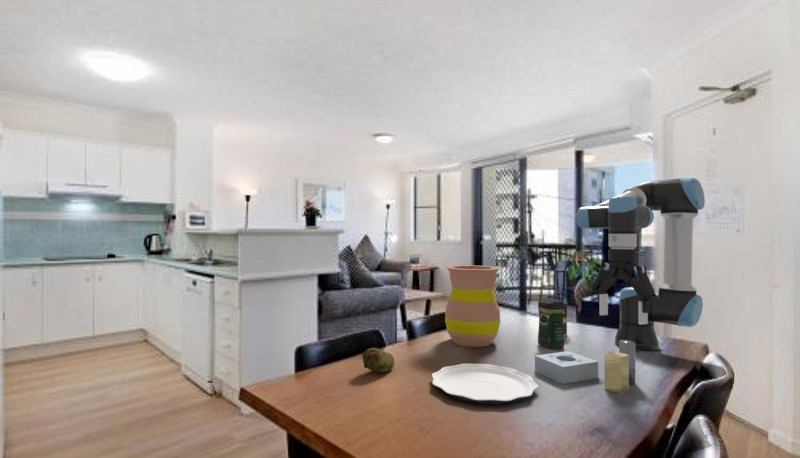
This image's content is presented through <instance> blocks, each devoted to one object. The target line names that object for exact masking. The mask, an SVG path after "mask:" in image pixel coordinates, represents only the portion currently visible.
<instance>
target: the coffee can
mask: <svg viewBox="0 0 800 458" xmlns="http://www.w3.org/2000/svg"><path fill="white" fill-rule="evenodd" d="M561 301H562V302H563V303H564V313H563V332H564V337H567V336H568V304H569V303H568V302H567V301H563V300H561Z"/></svg>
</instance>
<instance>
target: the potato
mask: <svg viewBox="0 0 800 458" xmlns="http://www.w3.org/2000/svg"><path fill="white" fill-rule="evenodd" d="M362 363H363V367H364V369H368V370H369V371H372V372H377V373H382V374H383V373H387V372H389V371H391V370H392V369H393V368H394V365H395V358H394V356H393V354H391V353H390V352H387V351H386V352H385V351H384V350H382V349H380V348H379V347H378V348H377V347H370V348H367V349H366V350H365V351H363V353H362Z"/></svg>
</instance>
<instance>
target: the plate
mask: <svg viewBox="0 0 800 458" xmlns="http://www.w3.org/2000/svg"><path fill="white" fill-rule="evenodd" d="M430 376H431V377H432V378H431V379H432V382H431V384H432V385H433V387H436V388H438V389H440V390H442V391H443V392H445V393H446V394H447V395H449V396H451V397H452V398H455V399H458V400H461V401H465V402H469V403H475V404H482V405H502V404H510V403H513V402H517V401H519V400H522V399H527V398H529V397H531V396H532V395H533V393H534V392H535V390H537V389H539V385H538V383H536V382H535V381H534V379H533V377H532V376H531V375H529V374H526V373H524V372H520V371H518V370H516V369H515V368H512V367H507V366H500V365H496V364H491V363H465V362H464V363H460V364H455V365H447V366H443V367H441V369H439V370H437V371H436V372H433V373H432V374H431V375H430Z"/></svg>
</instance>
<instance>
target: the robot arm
mask: <svg viewBox="0 0 800 458" xmlns="http://www.w3.org/2000/svg"><path fill="white" fill-rule="evenodd" d="M702 186H703V185H702V184H701V182H700V180H699V179H697V178H695V177H680V178H670V179H658V180H649V181H645V182H641V183H638V184H636V185H634V186H633V185H632V186H631V187H628V188H626V189H624V190H623V191H622V192H621V194H619V195H616V196H613V197H610V198H609V199H608V200H605V201H603V202H601V203H598V204H595V205H592V206H588V205H586V206H582V207H579V208H578V210H577V211H576V214H575V218H576V219H575V220H576V224H577V226H578V227H579V228H581V229H588V230H592V229H593V230H594V229H597V230H598V229H603V230H604V229H608V247H609V248H608V251H607V252H608V260H609V262H601V263H600V269H599V271H598V273H597V276H596V279H595V281H594V284H593V285H592V288H591V290H592V291H593V292H596V293H597V303H598V304H599V305H598V306H599V313H598V314H599V316H608V315H609V294H608V293H607V291H608V290H609V289H610V288H611V286H612V285H613V284H614V282H615V281H616V280H623V281H626V282H628V283H629V284H630V287H629V286H627V287H624V288H622V289H621V290H620V294H619V299H618V300H619V326H618V329H617V331H616V334H615V336H614V345H616V346H618V347H619V341H620V340H629V341H633V342H635V351H640V352H642V351H643V352H652V351H653V352H654V351H658V350H659V349H660V341H659V340H658V336H657V333H656V331H655V323H659V324H664V325H665V324H667V325H673V326H678V327H686V328H687V327H688V328H692V327H695V326H697V324H698V322H699V321H700V319H701V317H702V316H701V315H702V312H703V307H704V306H703V305H704V303H703V297H702V296H701V295H700V294H697V289H696V288H695V286H693V285H692V284H693V283H692V272H693V271H692V270H693V229H694V228H693V225H694V224H693V223H694V222H693V221H694V219H695V218H696V217H697V216H698V215H699V210H700V211H701V210H703V209H704V207H705V203H706V201H705V193H704V189H703V187H702ZM653 211H657V212H659V211H660V216H661V217H662V218H663V219H664V247H663V248H664V255H663V257H664V258H663V283H662V284H661V285H660V286H658V291H657V290H656V291H655V288H654V287H653V284H652V282H651V280H650V278H649V275H648V272H647V267H646V266H645V265H638V266H636V263H637V261H638V251H637V249H636V248H637V247H638V236H637V235H638V234H637V233H638V230H642V229H646V228H648V227H650V226H651V225H652V223H653V221H654V219H655V216H654V212H653ZM609 271H610V272H609Z"/></svg>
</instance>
